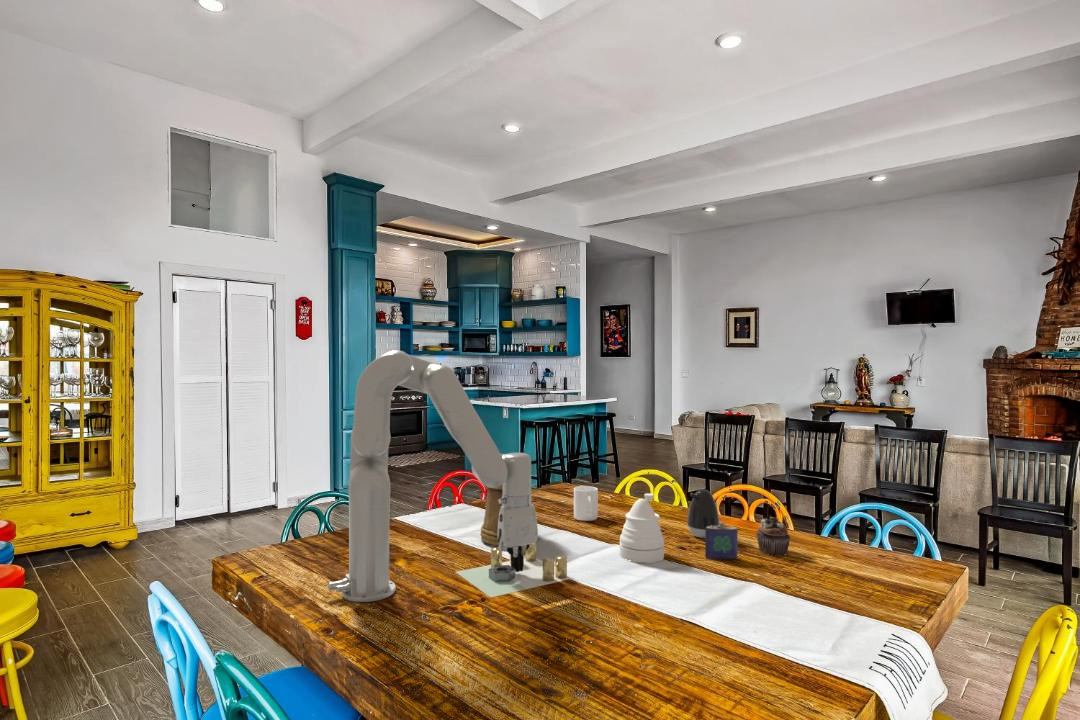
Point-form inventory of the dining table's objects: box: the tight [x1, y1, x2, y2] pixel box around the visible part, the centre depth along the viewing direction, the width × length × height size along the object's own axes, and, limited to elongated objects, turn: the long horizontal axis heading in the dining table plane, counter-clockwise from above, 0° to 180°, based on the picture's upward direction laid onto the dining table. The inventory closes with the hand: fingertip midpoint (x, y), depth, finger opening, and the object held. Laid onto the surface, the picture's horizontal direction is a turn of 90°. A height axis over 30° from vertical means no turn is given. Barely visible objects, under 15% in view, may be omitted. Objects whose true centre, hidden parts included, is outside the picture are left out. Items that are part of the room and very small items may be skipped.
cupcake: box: [755, 517, 791, 556], centre depth 182 cm, size 10×10×10 cm
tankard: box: [480, 484, 533, 546], centre depth 195 cm, size 18×24×25 cm
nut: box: [489, 565, 516, 582], centre depth 157 cm, size 6×7×2 cm
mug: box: [573, 485, 599, 522], centre depth 217 cm, size 9×12×11 cm
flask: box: [704, 521, 739, 561], centre depth 176 cm, size 9×3×11 cm, turn 87°
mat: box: [455, 557, 573, 598], centre depth 159 cm, size 24×20×1 cm
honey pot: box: [619, 493, 665, 563], centre depth 178 cm, size 13×13×18 cm
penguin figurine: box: [686, 488, 721, 539], centre depth 197 cm, size 10×10×15 cm
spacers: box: [490, 542, 568, 582], centre depth 162 cm, size 14×18×5 cm
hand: (517, 570), depth 160 cm, fingers closed
